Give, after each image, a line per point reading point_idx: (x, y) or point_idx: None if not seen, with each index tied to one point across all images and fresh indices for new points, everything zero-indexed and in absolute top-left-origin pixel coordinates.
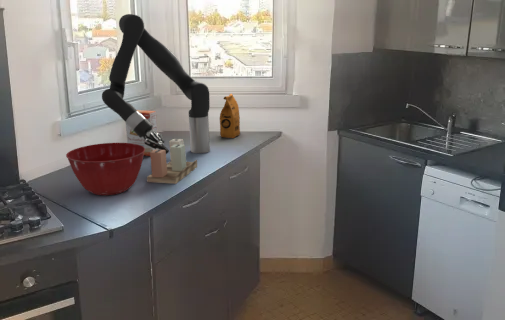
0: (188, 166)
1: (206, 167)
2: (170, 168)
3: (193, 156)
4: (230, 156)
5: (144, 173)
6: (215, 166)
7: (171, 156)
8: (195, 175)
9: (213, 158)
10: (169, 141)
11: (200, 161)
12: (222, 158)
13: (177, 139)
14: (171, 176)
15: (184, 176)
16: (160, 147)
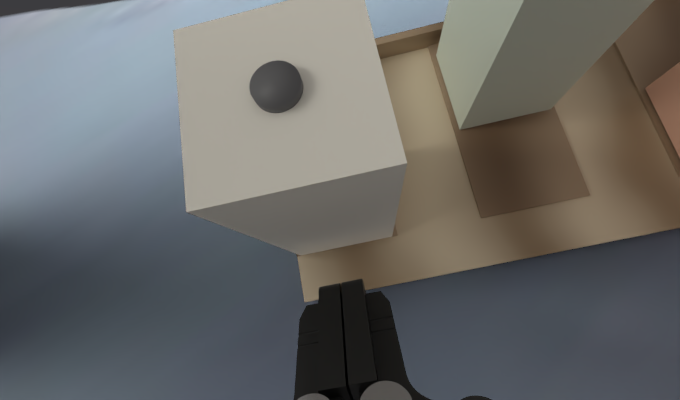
0: (441, 23)
1: None
2: (502, 160)
3: (48, 276)
4: (17, 51)
5: (610, 387)
6: (232, 13)
7: (638, 8)
8: (444, 8)
9: (74, 117)
10: (405, 159)
11: (156, 154)
12: (65, 69)
13: (217, 107)
14: (669, 28)
15: None
16: (410, 389)
